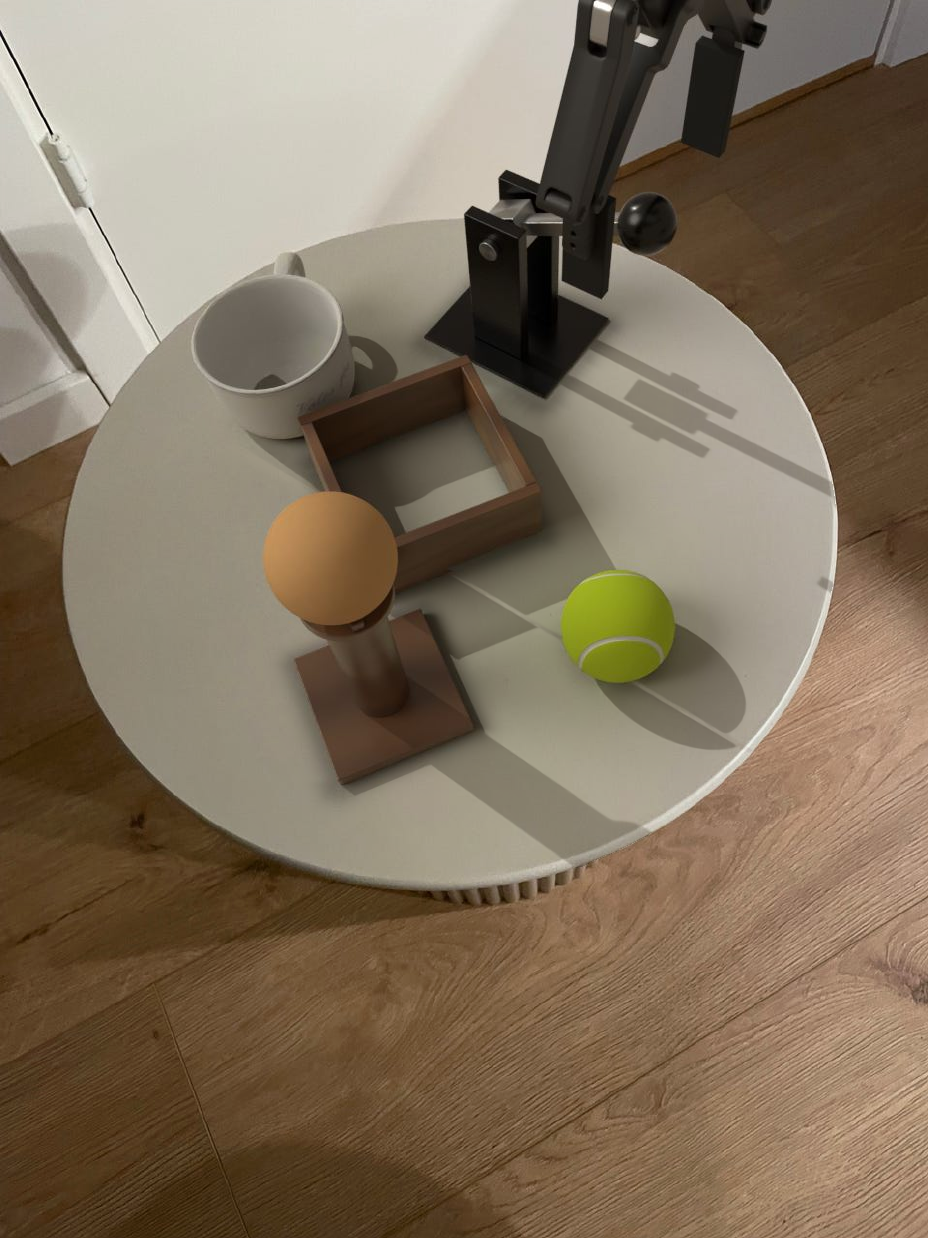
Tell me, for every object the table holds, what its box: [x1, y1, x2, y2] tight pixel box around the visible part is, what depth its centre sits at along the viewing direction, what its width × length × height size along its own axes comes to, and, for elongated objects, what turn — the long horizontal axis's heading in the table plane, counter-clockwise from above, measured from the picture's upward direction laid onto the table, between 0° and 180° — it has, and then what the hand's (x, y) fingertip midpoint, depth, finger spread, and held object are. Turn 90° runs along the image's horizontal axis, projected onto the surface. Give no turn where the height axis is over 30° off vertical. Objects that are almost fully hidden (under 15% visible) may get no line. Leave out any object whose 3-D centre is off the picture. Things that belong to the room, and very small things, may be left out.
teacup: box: [190, 251, 356, 440], centre depth 73 cm, size 14×11×8 cm
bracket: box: [423, 169, 610, 400], centre depth 72 cm, size 11×9×13 cm
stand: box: [293, 584, 475, 786], centre depth 58 cm, size 9×9×15 cm
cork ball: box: [262, 491, 398, 625], centre depth 48 cm, size 6×6×6 cm
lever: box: [488, 191, 678, 257], centre depth 64 cm, size 14×4×4 cm, turn 54°
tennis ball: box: [560, 569, 676, 684], centre depth 62 cm, size 7×7×7 cm
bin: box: [297, 355, 543, 595], centre depth 69 cm, size 13×13×6 cm
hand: (645, 214), depth 60 cm, fingers open, 13 cm apart
